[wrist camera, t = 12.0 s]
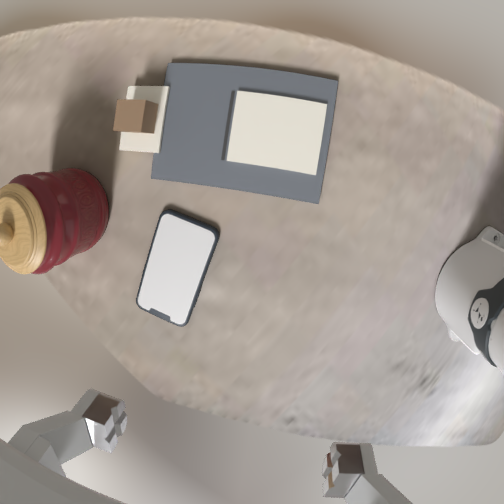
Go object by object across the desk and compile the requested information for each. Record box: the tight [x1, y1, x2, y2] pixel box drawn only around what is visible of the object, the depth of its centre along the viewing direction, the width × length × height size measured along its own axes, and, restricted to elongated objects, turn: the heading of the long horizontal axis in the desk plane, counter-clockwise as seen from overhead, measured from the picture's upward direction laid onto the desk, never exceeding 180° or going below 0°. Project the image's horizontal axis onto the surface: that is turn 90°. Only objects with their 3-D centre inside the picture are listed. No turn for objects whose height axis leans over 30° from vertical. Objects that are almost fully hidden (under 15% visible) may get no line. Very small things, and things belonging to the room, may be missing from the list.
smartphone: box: [136, 209, 219, 326], centre depth 45 cm, size 9×2×16 cm
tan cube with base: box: [113, 86, 170, 153], centre depth 36 cm, size 6×9×4 cm, turn 172°
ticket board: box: [151, 63, 338, 204], centre depth 38 cm, size 22×16×2 cm
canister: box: [0, 168, 109, 274], centre depth 36 cm, size 13×13×18 cm
